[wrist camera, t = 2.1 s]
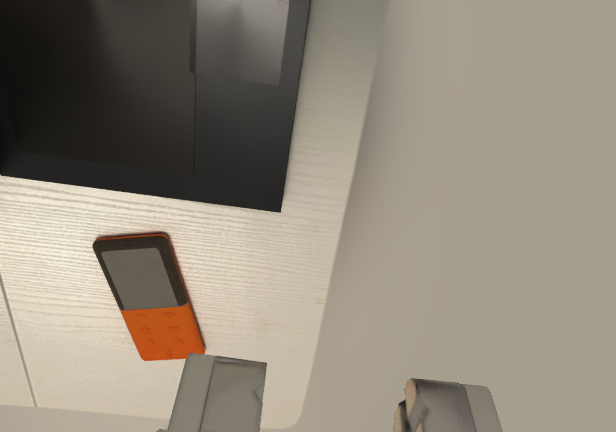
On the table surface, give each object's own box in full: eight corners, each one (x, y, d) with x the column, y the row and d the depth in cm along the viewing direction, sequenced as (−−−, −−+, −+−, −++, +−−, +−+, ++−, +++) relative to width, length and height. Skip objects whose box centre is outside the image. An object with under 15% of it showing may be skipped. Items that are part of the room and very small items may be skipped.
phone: (140, 364, 53) (87, 245, 45) (144, 353, 54) (93, 236, 46) (205, 360, 53) (164, 239, 44) (207, 350, 54) (168, 230, 45)
